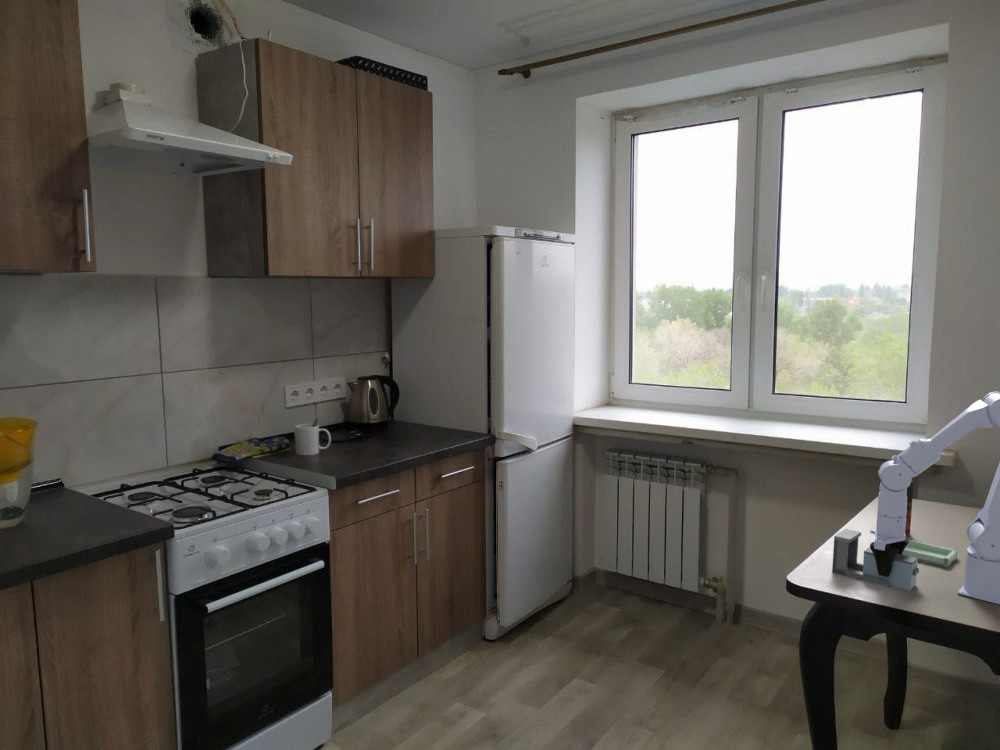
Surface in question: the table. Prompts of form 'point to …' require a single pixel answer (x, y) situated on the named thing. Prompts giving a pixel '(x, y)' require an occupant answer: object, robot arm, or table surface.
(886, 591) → the table surface
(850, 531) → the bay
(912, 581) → the pale blue block
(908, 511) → the deodorant
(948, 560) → the tray
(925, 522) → the table surface
